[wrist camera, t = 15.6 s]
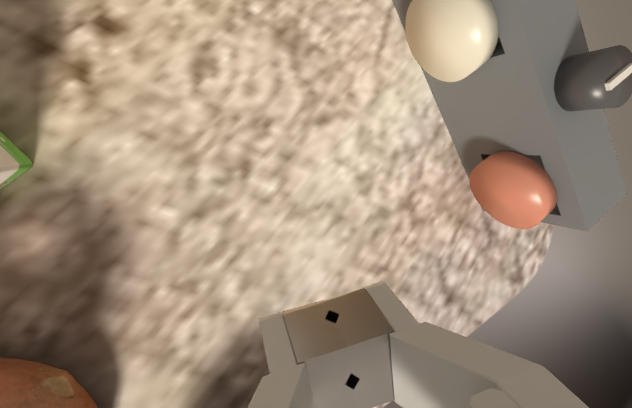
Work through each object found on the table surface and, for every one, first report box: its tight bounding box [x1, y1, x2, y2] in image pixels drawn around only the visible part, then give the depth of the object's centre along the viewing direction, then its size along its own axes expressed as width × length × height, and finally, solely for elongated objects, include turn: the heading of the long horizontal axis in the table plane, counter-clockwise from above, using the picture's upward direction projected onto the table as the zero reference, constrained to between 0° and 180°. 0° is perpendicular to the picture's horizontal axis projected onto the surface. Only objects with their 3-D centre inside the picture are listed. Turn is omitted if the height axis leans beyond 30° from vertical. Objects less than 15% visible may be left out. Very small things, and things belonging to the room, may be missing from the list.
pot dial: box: [554, 45, 632, 112], centre depth 26 cm, size 4×4×3 cm
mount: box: [392, 0, 626, 231], centre depth 32 cm, size 24×6×11 cm, turn 32°
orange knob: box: [470, 151, 557, 229], centre depth 34 cm, size 7×8×7 cm
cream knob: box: [405, 0, 500, 82], centre depth 29 cm, size 7×8×7 cm
